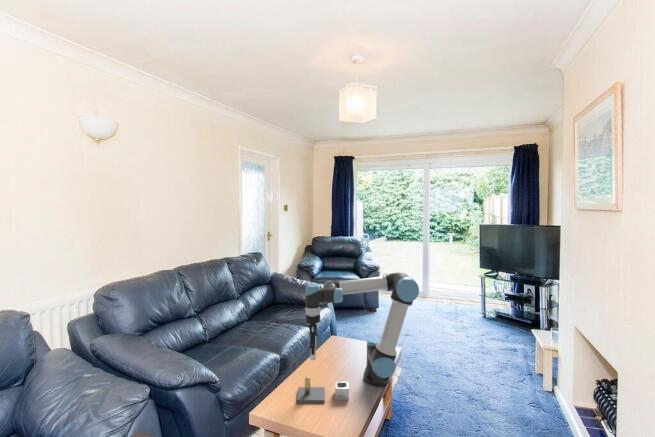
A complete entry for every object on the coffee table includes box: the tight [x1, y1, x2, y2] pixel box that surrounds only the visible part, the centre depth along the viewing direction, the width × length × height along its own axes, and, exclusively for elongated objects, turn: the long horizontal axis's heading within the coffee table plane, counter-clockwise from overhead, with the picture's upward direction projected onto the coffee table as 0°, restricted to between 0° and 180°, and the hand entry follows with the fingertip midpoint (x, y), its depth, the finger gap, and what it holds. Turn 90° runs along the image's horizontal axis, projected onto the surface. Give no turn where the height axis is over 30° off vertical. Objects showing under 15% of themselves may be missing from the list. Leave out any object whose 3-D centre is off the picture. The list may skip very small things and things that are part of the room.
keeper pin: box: [304, 376, 311, 395], centre depth 178 cm, size 3×3×9 cm
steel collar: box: [334, 380, 350, 401], centre depth 179 cm, size 7×7×6 cm
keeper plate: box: [296, 386, 326, 404], centre depth 179 cm, size 14×12×2 cm
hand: (313, 353), depth 180 cm, fingers open, 13 cm apart
